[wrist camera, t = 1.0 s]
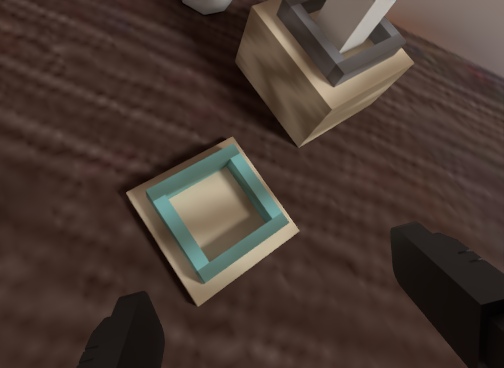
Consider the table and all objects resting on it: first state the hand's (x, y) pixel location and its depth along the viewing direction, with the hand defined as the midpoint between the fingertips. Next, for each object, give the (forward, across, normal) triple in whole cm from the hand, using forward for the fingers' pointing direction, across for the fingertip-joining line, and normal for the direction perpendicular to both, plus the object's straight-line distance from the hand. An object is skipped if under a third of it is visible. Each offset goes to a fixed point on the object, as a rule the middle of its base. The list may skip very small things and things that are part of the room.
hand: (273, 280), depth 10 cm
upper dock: (+33, -10, -2) cm, 34 cm away
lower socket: (+20, +4, +7) cm, 22 cm away
